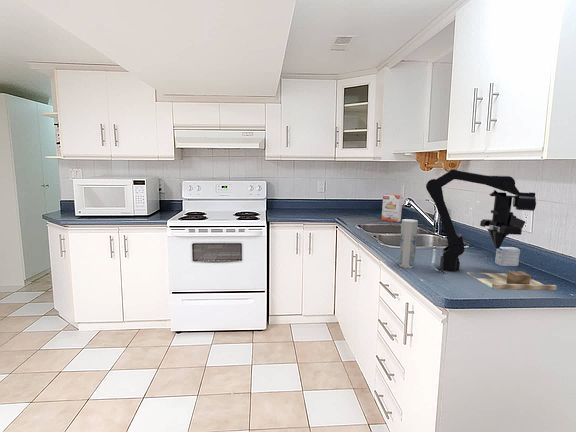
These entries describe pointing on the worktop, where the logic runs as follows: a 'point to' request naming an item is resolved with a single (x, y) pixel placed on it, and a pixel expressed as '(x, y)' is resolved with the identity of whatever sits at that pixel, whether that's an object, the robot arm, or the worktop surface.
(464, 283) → the worktop surface
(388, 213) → the cracker box
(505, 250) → the medicine box
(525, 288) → the trap board
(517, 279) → the walnut block
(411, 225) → the spray can
